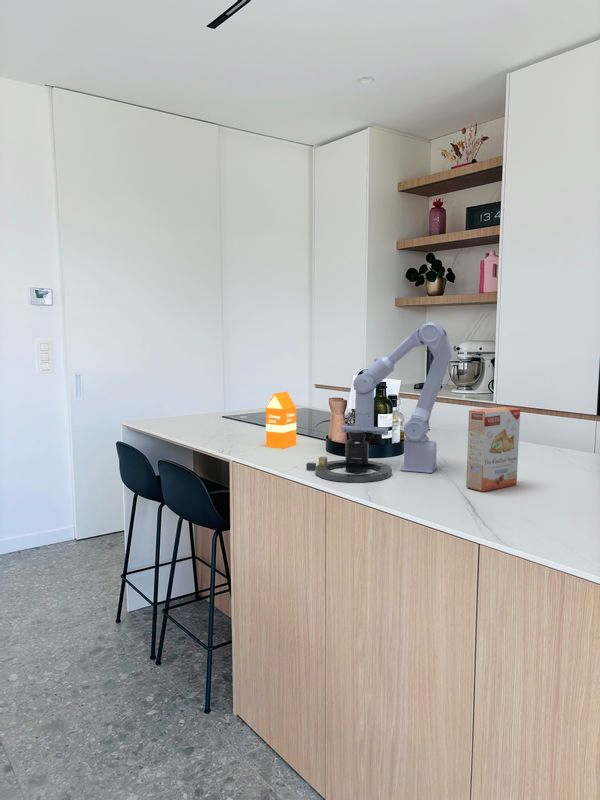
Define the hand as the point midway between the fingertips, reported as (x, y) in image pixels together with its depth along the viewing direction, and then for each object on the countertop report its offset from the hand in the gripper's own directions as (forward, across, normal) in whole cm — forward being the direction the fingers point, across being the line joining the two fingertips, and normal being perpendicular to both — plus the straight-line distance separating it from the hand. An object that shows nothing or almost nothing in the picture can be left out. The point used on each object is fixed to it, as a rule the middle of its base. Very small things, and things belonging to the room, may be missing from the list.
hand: (364, 456), depth 181 cm
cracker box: (+3, -39, +12) cm, 41 cm away
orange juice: (+3, +38, -21) cm, 43 cm away
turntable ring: (+3, 0, +11) cm, 12 cm away
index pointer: (+3, +13, +11) cm, 18 cm away
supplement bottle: (+3, 0, +8) cm, 8 cm away
